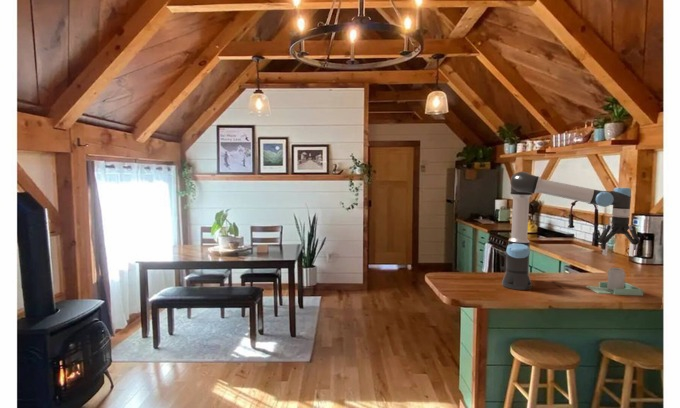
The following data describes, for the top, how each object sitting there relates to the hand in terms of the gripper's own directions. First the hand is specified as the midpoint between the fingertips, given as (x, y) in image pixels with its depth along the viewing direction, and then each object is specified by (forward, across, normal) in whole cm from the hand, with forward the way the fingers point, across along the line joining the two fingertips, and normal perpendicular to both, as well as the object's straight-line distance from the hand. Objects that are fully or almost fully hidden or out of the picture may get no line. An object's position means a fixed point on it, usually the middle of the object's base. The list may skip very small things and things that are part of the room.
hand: (617, 255), depth 205 cm
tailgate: (+19, -6, 0) cm, 20 cm away
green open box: (+20, +2, 0) cm, 20 cm away
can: (+19, 0, 0) cm, 19 cm away
